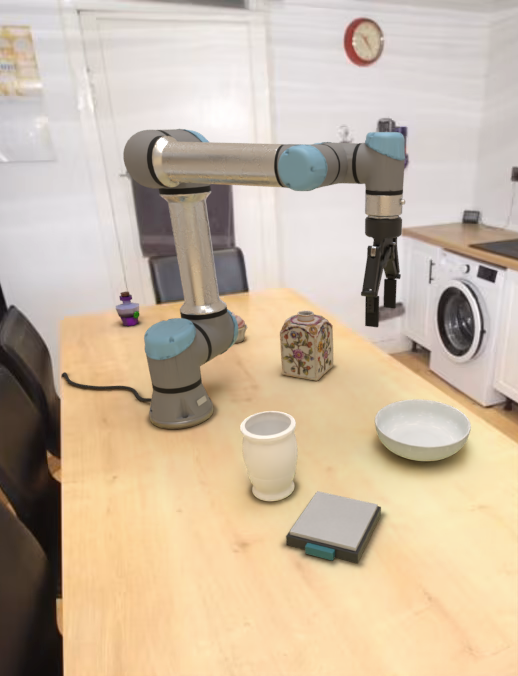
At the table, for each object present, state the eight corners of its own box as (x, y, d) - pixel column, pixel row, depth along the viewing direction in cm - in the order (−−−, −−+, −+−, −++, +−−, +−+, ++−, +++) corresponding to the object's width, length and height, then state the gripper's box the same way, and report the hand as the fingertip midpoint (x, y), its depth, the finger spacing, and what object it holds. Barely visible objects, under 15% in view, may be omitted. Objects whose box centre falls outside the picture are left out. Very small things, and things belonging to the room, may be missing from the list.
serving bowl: (407, 485, 108) (408, 456, 105) (358, 437, 125) (358, 411, 122) (488, 458, 117) (491, 430, 114) (432, 416, 134) (433, 391, 131)
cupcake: (254, 338, 184) (252, 310, 179) (235, 347, 177) (232, 318, 172) (234, 333, 188) (231, 306, 184) (214, 341, 181) (211, 313, 177)
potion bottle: (138, 328, 194) (132, 295, 189) (114, 328, 194) (107, 295, 189) (146, 320, 202) (141, 288, 197) (123, 320, 202) (117, 288, 197)
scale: (283, 548, 92) (282, 536, 91) (316, 500, 104) (316, 488, 103) (355, 567, 88) (355, 554, 87) (380, 515, 100) (381, 503, 99)
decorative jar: (281, 375, 156) (277, 316, 149) (299, 360, 166) (296, 304, 158) (318, 382, 152) (316, 321, 145) (335, 366, 162) (333, 309, 154)
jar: (290, 509, 102) (285, 440, 95) (238, 502, 104) (230, 435, 97) (305, 476, 111) (302, 412, 105) (258, 471, 113) (252, 407, 106)
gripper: (384, 227, 97) (381, 337, 106) (416, 208, 119) (411, 302, 128) (345, 224, 100) (345, 333, 109) (383, 207, 121) (380, 299, 130)
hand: (381, 316), depth 118 cm, fingers open, 13 cm apart
